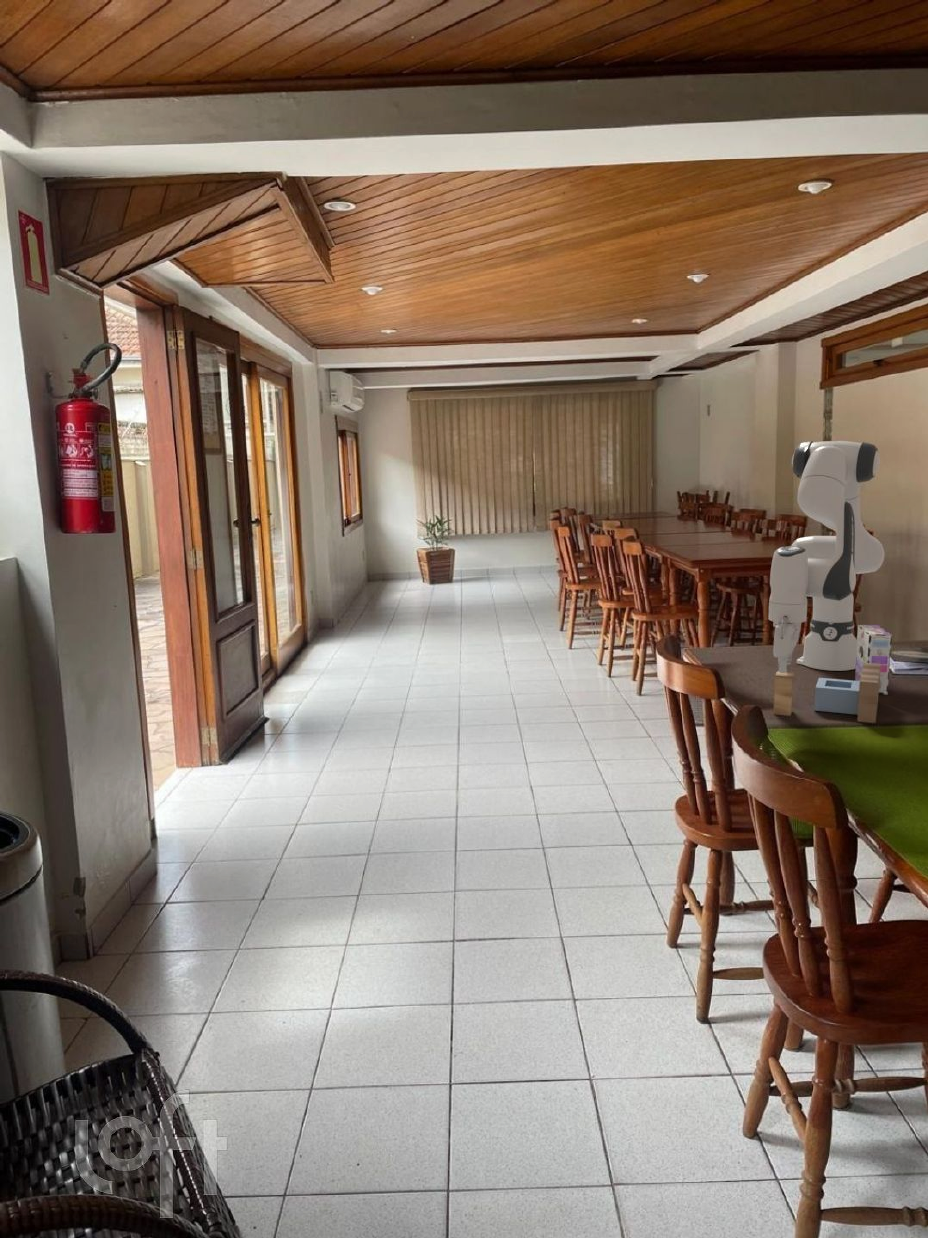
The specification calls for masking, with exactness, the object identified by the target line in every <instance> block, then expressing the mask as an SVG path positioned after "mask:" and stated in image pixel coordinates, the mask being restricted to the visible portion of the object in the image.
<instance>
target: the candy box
mask: <svg viewBox="0 0 928 1238" xmlns="http://www.w3.org/2000/svg"><path fill="white" fill-rule="evenodd" d="M856 629H857V632H856V633H857V635H856V639H857V650H856V669H854V670H855V672H854V673H855V674H854V681H860V677H861V673H862V668H863V663H864V662H865V663H878V664H880V680H879V695H886V696H887V695H888V694H889V680H890V667H891V654H892V653H891V652H892V639H893V635H892V634H891V633H890V632H888V631H886V630H885V629H884V628H883V627H881V625H880V624H879V625H878V624H858V625H857V628H856Z"/></svg>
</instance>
